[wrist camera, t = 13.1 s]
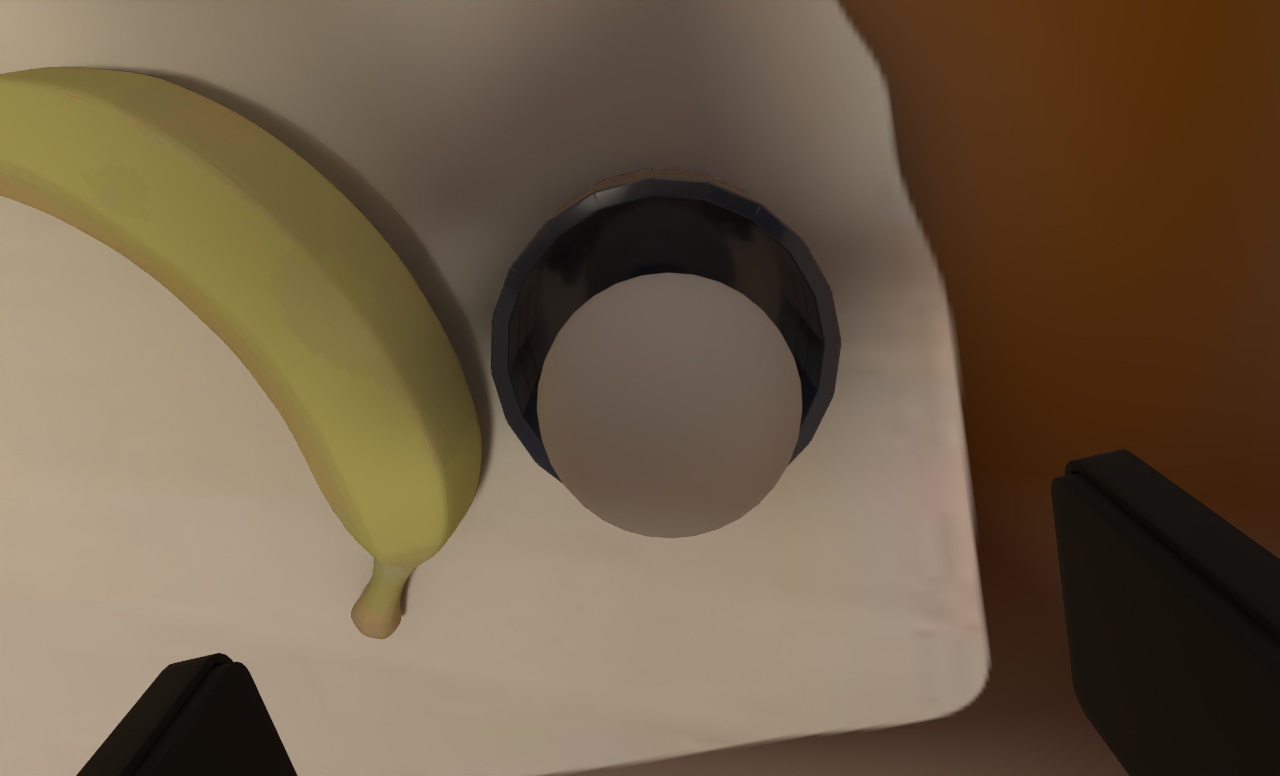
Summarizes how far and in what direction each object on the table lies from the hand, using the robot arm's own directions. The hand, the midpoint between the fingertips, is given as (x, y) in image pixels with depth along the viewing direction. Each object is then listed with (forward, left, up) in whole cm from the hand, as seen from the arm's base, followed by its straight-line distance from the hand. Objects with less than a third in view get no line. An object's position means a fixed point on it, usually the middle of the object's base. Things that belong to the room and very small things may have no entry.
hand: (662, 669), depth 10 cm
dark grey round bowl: (0, 0, -19) cm, 19 cm away
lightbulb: (+1, 0, -19) cm, 19 cm away
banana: (-1, -13, -20) cm, 23 cm away
